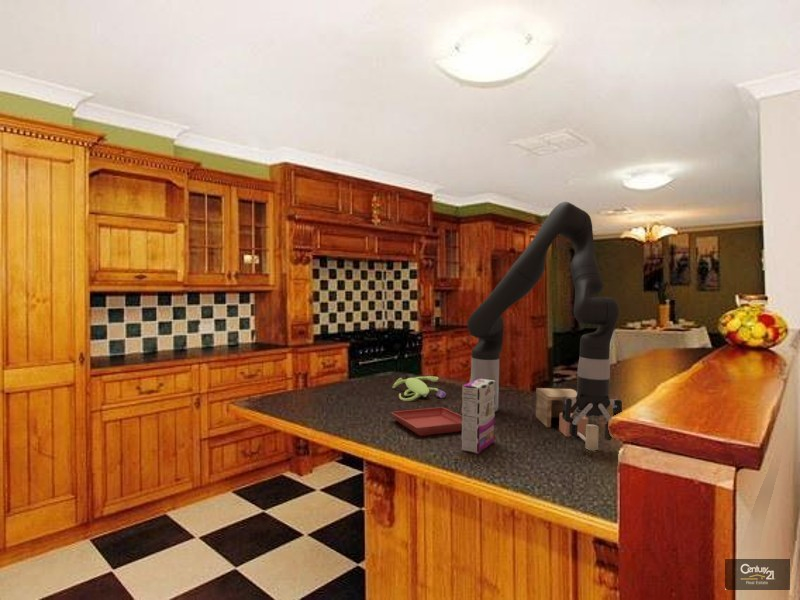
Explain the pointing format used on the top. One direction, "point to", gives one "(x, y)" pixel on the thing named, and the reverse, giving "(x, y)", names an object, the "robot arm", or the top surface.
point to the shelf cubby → (552, 403)
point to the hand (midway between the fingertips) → (591, 438)
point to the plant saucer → (429, 420)
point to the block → (582, 431)
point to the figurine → (418, 387)
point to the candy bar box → (478, 415)
